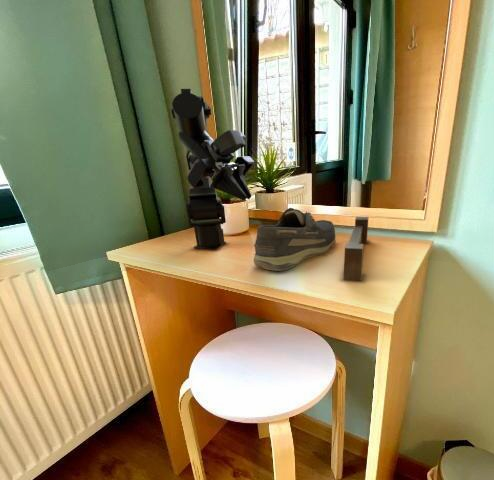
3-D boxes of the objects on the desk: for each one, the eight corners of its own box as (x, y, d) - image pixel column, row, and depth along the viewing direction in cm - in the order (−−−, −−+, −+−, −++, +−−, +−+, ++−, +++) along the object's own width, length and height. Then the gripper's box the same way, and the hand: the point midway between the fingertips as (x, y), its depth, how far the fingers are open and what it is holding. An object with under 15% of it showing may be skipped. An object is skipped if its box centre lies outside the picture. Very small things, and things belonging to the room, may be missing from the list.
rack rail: (343, 280, 58) (344, 248, 55) (354, 240, 82) (356, 216, 80) (360, 281, 57) (362, 248, 54) (366, 240, 82) (368, 217, 79)
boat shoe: (345, 241, 82) (347, 200, 78) (289, 279, 59) (287, 225, 55) (310, 236, 87) (309, 198, 83) (246, 270, 65) (241, 220, 60)
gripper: (188, 112, 56) (243, 175, 56) (244, 119, 72) (287, 168, 71) (165, 159, 63) (215, 215, 62) (221, 156, 78) (261, 201, 78)
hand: (247, 198), depth 68 cm, fingers closed
